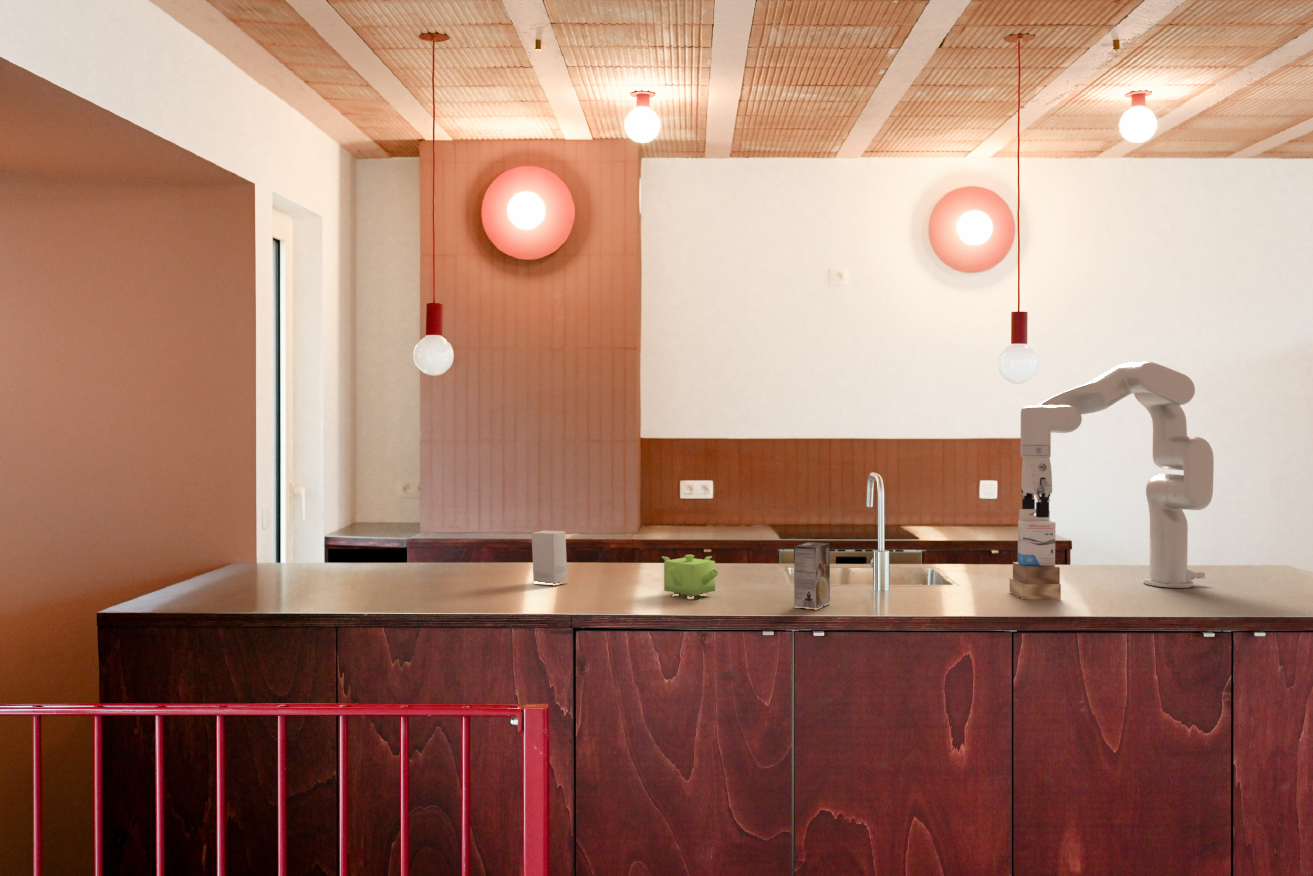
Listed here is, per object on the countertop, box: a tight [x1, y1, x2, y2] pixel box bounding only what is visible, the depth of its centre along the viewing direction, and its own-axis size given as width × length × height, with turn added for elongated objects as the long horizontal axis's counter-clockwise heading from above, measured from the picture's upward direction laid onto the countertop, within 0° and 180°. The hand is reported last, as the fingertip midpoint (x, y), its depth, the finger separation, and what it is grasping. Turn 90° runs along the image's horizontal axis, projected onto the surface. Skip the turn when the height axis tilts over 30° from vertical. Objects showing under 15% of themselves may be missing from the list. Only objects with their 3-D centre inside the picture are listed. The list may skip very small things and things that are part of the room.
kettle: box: [661, 554, 719, 597], centre depth 258 cm, size 15×14×11 cm
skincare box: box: [531, 530, 568, 584], centre depth 277 cm, size 8×7×16 cm
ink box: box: [1017, 508, 1056, 566], centre depth 253 cm, size 9×5×15 cm, turn 85°
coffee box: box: [793, 541, 831, 608], centre depth 242 cm, size 9×6×16 cm
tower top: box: [1012, 561, 1061, 584], centre depth 254 cm, size 9×9×4 cm
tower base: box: [1009, 577, 1062, 599], centre depth 254 cm, size 10×10×4 cm
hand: (1035, 515), depth 254 cm, fingers open, 9 cm apart
